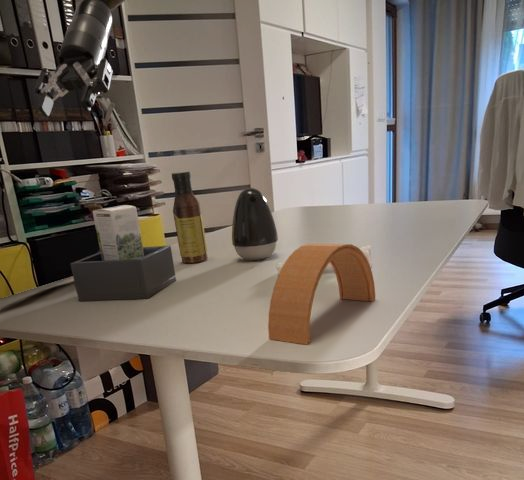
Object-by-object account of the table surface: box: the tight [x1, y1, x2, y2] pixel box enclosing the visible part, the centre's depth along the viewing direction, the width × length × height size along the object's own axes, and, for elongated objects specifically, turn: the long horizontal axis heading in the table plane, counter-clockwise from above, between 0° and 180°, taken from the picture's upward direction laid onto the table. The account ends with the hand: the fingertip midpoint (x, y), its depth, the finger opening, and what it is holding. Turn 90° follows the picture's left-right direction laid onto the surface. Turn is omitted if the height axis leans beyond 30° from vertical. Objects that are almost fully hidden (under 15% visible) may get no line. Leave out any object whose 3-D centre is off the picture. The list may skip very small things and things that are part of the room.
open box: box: [69, 245, 177, 302], centre depth 98 cm, size 14×13×7 cm
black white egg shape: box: [231, 187, 279, 261], centre depth 115 cm, size 10×10×15 cm
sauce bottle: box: [171, 170, 208, 264], centre depth 118 cm, size 7×6×20 cm
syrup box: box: [93, 204, 144, 261], centre depth 97 cm, size 6×6×14 cm
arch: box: [267, 243, 376, 345], centre depth 70 cm, size 6×20×10 cm, turn 144°
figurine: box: [275, 243, 373, 273], centre depth 98 cm, size 17×5×18 cm
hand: (64, 110), depth 93 cm, fingers open, 8 cm apart
